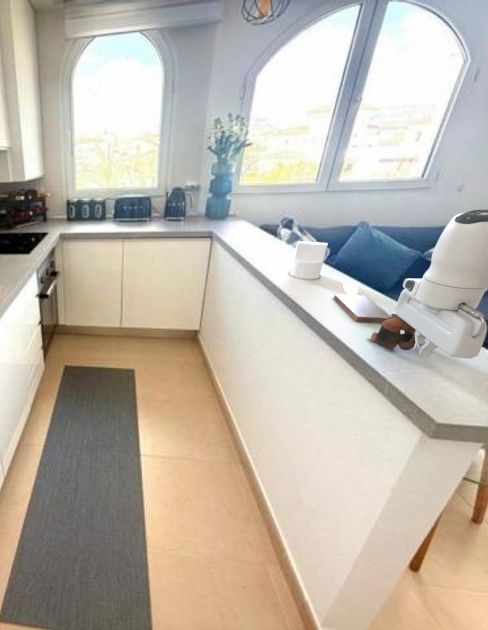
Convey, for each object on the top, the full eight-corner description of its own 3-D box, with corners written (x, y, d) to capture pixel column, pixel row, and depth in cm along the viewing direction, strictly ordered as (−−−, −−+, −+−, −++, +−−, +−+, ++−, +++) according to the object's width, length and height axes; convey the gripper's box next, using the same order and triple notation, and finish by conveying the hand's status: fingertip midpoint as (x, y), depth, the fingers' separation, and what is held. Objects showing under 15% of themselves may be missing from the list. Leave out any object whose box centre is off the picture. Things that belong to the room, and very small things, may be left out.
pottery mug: (358, 335, 88) (380, 308, 86) (394, 353, 87) (417, 326, 85) (389, 348, 77) (416, 317, 75) (431, 369, 76) (459, 338, 74)
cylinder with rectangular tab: (319, 272, 128) (327, 241, 123) (319, 280, 121) (327, 247, 116) (291, 269, 133) (298, 239, 127) (289, 277, 126) (296, 245, 121)
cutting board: (364, 299, 105) (365, 295, 105) (391, 323, 92) (393, 318, 91) (333, 298, 108) (334, 294, 107) (355, 321, 94) (357, 316, 93)
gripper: (512, 318, 59) (475, 383, 65) (434, 277, 76) (411, 332, 82) (465, 316, 60) (434, 379, 67) (400, 276, 78) (379, 330, 84)
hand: (421, 352), depth 75 cm, fingers closed
